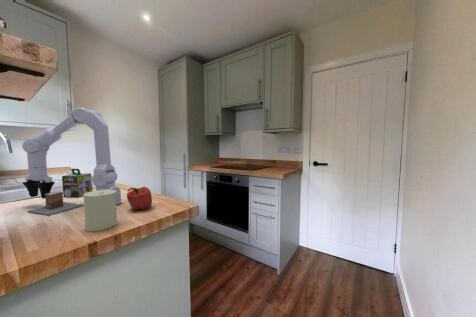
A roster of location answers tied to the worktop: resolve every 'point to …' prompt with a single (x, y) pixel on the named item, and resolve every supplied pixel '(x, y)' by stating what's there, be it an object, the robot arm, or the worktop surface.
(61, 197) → the block
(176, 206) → the worktop surface
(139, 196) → the vegetable
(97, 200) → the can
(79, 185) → the chalk box
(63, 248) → the worktop surface
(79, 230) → the worktop surface
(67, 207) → the mat
